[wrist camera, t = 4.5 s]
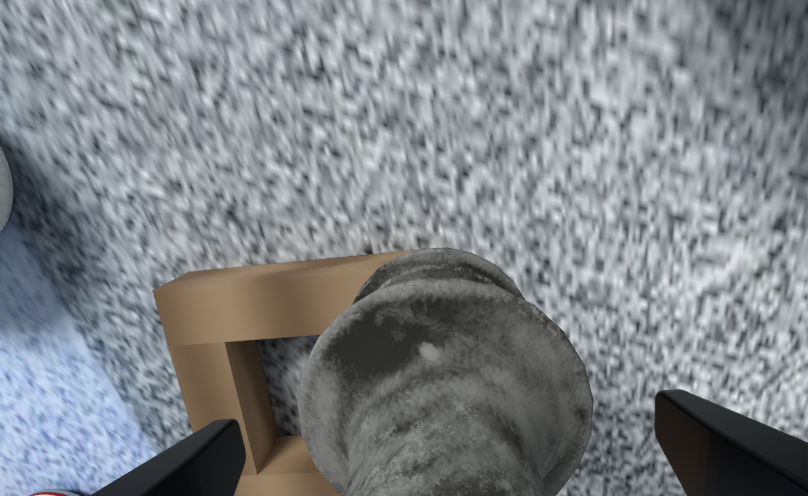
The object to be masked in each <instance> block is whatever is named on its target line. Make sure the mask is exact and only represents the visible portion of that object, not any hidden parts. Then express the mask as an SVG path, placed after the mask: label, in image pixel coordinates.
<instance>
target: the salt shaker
mask: <svg viewBox="0 0 808 496" xmlns="http://www.w3.org/2000/svg"><path fill="white" fill-rule="evenodd" d="M297 405H298V412H299V420H300V427H301V434H302V437H303V439H304V442H305V444H306V446H307V448H308V451H309V453H310V455H311V457H312V460H313V462H314V464H315V466H316V467H317V468H318V469H319V471H320V472H321V473H322V474H323V476H324V477H325V478H326V479H327V481H328V482H329V483H330V484H331V486H332V487H333V488H334V489H335V491H336V492H337V493H338V494H340V495H341V496H555V495H557V494H558V492H559V491H560V490H561V488H562V487H563V486H564V485H565V483H566V482H567V481H568V479H569V478H570V477H571V475H572V474H573V473H574V472H575V470H576V469H577V468H578V466H579V464H580V462H581V459H582V457H583V454H584V451H585V449H586V446H587V444H588V441H589V438H590V436H591V428H592V413H593V397H592V393H591V389H590V385H589V381H588V377H587V373H586V369H585V365H584V364H583V362H582V360H581V359H580V357H579V355H578V354H577V352H576V351H575V349H574V347H573V346H572V344H571V342H570V341H569V339H568V337H567V336H566V334H565V333H564V331H563V330H562V329H561V328H559V327H558V326H557V325H556V324H555V323H554V322H553V321H552V320H551V319H549V318H548V317H547V316H546V315H545V314H544V313H543V312H542V311H541V310H540V309H538V308H537V307H536V306H535V305H534V304H532V303H530V302H528V301H526V300H525V299H524V297H523V296H522V294H521V293H520V291H519V289H518V288H517V286H516V285H515V283H514V281H513V280H512V279H510V278H509V277H508V276H507V275H506V274H505V273H504V272H503V271H502V270H501V269H499V268H498V267H497V266H496V265H495V264H493V263H491V262H489V261H487V260H485V259H483V258H481V257H479V256H477V255H475V254H473V253H470V252H465V251H460V250H456V249H451V248H429V249H420V250H416V251H413V252H410V253H406V254H403V255H400V256H397V257H396V258H394V259H393V260H391V261H389V262H388V263H386V264H384V265H383V266H381V267H380V268H378V269H377V270H376V271H375V272H374V273H373V274H372V275H371V276H370V277H369V279H368V280H367V281H366V282H365V283H364V284H363V285H362V286H361V288H360V290H359V292H358V294H357V296H356V298H355V300H354V302H353V304H352V305H351V306H350V307H348V308H346V309H345V310H343V311H342V312H341V313H340V315H339V316H338V317H337V318H336V319H335V320H334V321H333V322H332V323H331V324H330V325H329V326H328V327H327V329H326V330H325V331H324V332H323V333H322V334H321V335H320V336H319V337H318V339H317V341H316V343H315V345H314V347H313V349H312V351H311V353H310V355H309V358H308V360H307V362H306V364H305V366H304V368H303V370H302V375H301V382H300V388H299V394H298V401H297Z"/></svg>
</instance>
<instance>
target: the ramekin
mask: <svg viewBox="0 0 808 496" xmlns="http://www.w3.org/2000/svg"><path fill="white" fill-rule="evenodd" d="M12 204H13V181H12V175H11V171H10V168H9V165H8V162H7V159H6V157H5V154H4V152H3V150H2V148H1V147H0V233H1V231H2V230H3V228H4V227H5V225H6V223H7V221H8V219H9V216H10V213H11V209H12Z"/></svg>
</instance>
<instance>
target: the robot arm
mask: <svg viewBox="0 0 808 496" xmlns="http://www.w3.org/2000/svg"><path fill="white" fill-rule="evenodd" d="M654 429H655V435H656V438H657V441H658V443H659V445H660V446H661V448H662V450H663V452H664V454H665V456H666V458H667V459H668V461H669V463H670V465H671V467H672V469H673V471H674V472H675V474H676V476H677V478H678V480H679V482H680V483H681V485H682V487H683V489H684V491H685V493H686V495H687V496H808V442H805V441H803V440H801V439H798V438H796V437H793V436H791V435H789V434H786V433H784V432H782V431H779V430H777V429H774V428H772V427H770V426H767V425H765V424H763V423H760V422H758V421H755V420H753V419H751V418H748V417H746V416H744V415H741V414H739V413H736V412H734V411H732V410H729V409H727V408H725V407H722V406H720V405H717V404H715V403H713V402H710V401H708V400H706V399H703V398H701V397H698V396H696V395H694V394H691V393H689V392H687V391H684V390H680V389H674V390H661V391H659V392H657V394H656V397H655V422H654ZM245 462H246V450H245V445H244V441H243V437H242V433H241V429H240V425H239V423H238V421H237V420H236V419H218V420H215V421H213V422H211V423H210V424H208V425H206V426H205V427H203V428H201V429H200V430H198V431H196V432H195V433H193V434H191V435H190V436H188V437H186V438H185V439H183V440H181V441H180V442H178V443H176V444H175V445H173V446H171V447H170V448H168V449H167V450H165V451H163V452H162V453H160V454H158V455H157V456H155V457H153V458H152V459H150V460H148V461H147V462H145V463H143V464H142V465H140V466H138V467H137V468H135V469H133V470H132V471H130V472H128V473H127V474H125V475H123V476H122V477H120V478H118V479H117V480H115V481H113V482H112V483H110V484H108V485H107V486H105V487H103V488H102V489H100V490H98V491H97V492H95V493H93V494H92V495H90V496H234V494H235V491H236V488H237V486H238V483H239V480H240V477H241V474H242V471H243V469H244V466H245Z"/></svg>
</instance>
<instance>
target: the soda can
mask: <svg viewBox="0 0 808 496" xmlns="http://www.w3.org/2000/svg"><path fill="white" fill-rule="evenodd" d="M29 496H82V495H79V494H76V493H72V492H68V491H64V490H58V489H46V490H41V491H37V492H35V493H33V494H31V495H29Z"/></svg>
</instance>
